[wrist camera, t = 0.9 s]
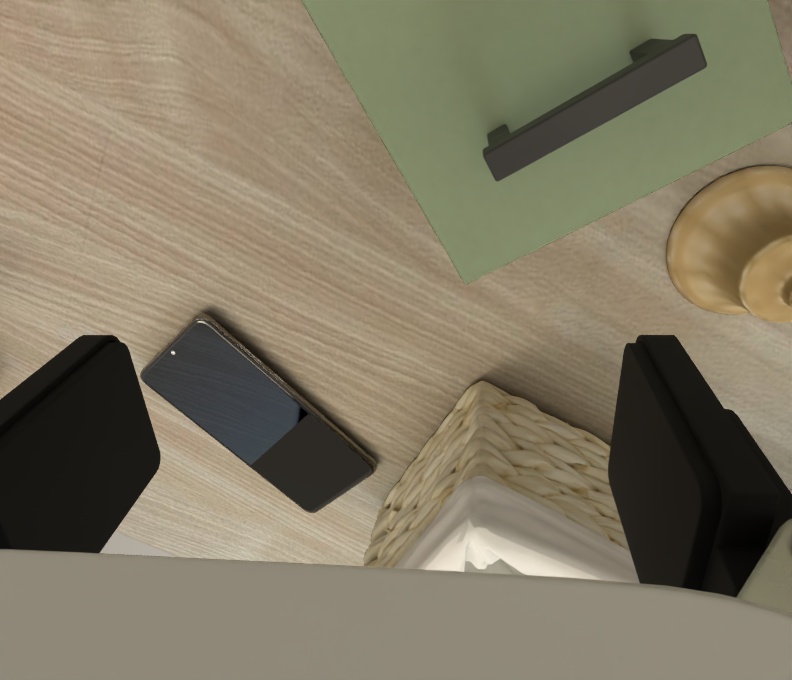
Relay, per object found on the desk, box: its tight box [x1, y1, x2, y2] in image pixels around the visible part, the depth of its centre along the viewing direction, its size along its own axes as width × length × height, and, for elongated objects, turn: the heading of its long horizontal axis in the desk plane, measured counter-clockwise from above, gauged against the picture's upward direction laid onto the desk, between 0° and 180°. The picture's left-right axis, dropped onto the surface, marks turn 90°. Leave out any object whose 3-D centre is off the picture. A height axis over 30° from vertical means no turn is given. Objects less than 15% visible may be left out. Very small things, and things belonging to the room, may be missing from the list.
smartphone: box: [140, 314, 377, 513], centre depth 40 cm, size 7×1×16 cm
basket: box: [364, 381, 639, 583], centre depth 35 cm, size 24×16×15 cm
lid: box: [301, 0, 792, 284], centre depth 18 cm, size 15×13×5 cm
